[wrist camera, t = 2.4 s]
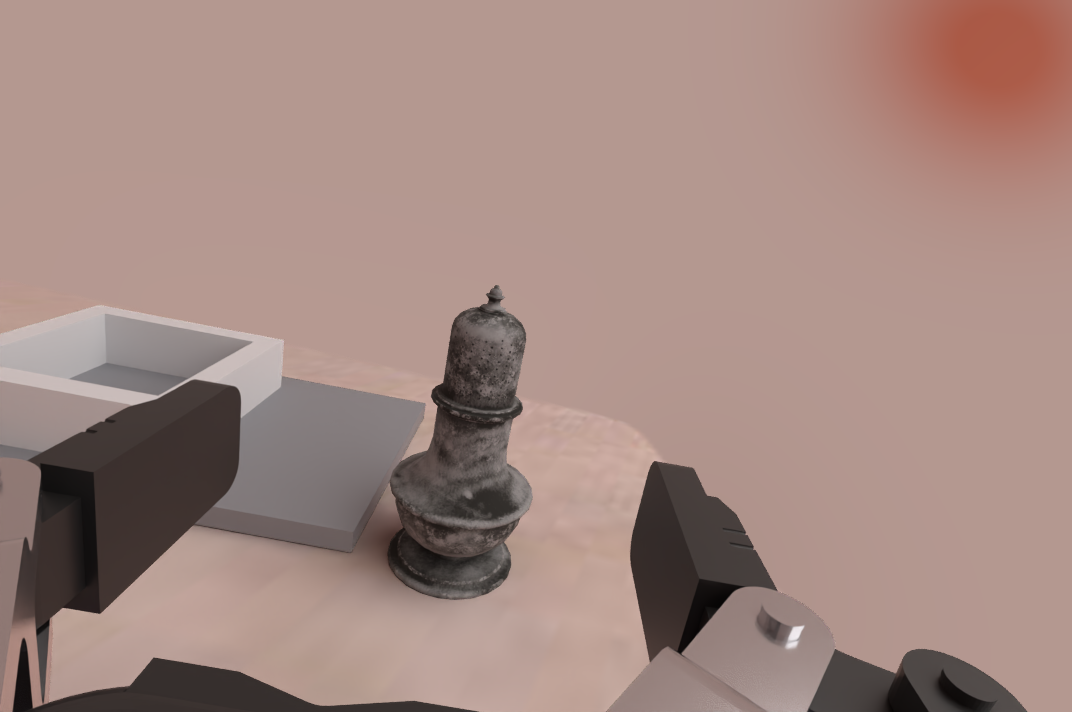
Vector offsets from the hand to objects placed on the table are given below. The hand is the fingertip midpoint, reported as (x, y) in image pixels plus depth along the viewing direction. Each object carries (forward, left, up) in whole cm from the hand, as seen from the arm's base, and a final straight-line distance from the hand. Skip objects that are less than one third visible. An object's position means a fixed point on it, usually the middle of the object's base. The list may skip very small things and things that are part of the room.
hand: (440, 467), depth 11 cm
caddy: (-14, +17, -11) cm, 25 cm away
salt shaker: (0, +11, -11) cm, 16 cm away
